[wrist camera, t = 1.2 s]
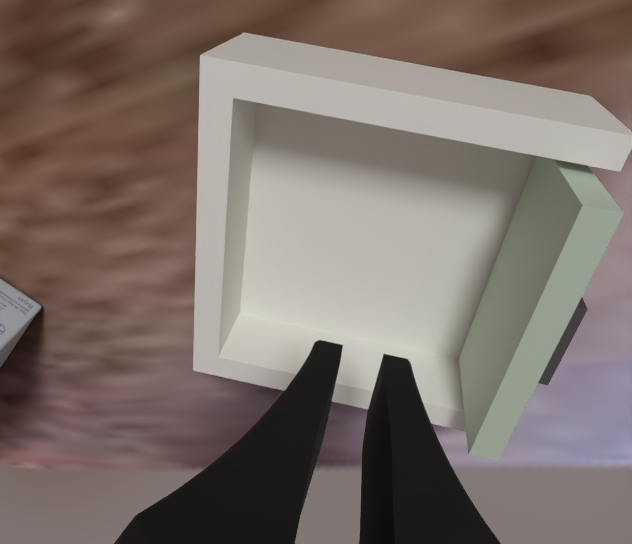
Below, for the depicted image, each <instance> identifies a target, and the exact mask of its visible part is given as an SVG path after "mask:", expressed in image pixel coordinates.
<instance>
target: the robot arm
mask: <svg viewBox="0 0 632 544" xmlns="http://www.w3.org/2000/svg"><path fill="white" fill-rule="evenodd" d="M342 348H343V345H341V344H336V343H332V342H327V341H323V340H318V341H316V342H314V345H313V347H312V350H311V352H310V354H309V356H308V357H307V359H306V361H305V362H304V364H303V366H302V367H301V369H300V370H299V372H298V373H297V375H296V376H295V377H294V379H293V380H292V381H291V383H290V384H289V385H288V387H287V388H286V390H285V391H284V392H283V393H282V395H281V396H280V397H279V398H278V399H277V401H276V402H275V403H274V404H273V405H272V406H271V408H270V409H269V410H268V411H267V412H266V413H265V415H264V416H263V417H262V418H261V419H260V420H259V421H258V422H257V423H256V424H255V425H254V426H253V427H252V428H251V429H250V430H249V431H248V432H247V433H246V434H245V435H244V436H243V437H242V438H241V439H240V440H239V441H238V442H237V443H236V444H234V445H233V446H232V447H231V448H230V449H229V450H228V451H226V452H225V453H224V454H223V455H222V456H221V457H220V458H218V459H217V460H216V461H215V462H214V463H212V464H211V465H210V466H208V467H207V468H206V469H204V470H203V471H202V472H200V473H199V474H198V475H196V476H195V477H194V478H192V479H191V480H190V481H188V482H187V483H185V484H184V485H183V486H182V487H180V488H179V489H177V490H176V491H174V492H173V493H171V494H169V495H168V496H166V497H165V498H163V499H161V500H160V501H158V502H157V503H155V504H154V505H152V506H150V507H149V508H147V509H145V510H144V511H142V512H141V513H139V514H137V515H136V516H135V517H134V518H133V520H132V521H131V522H130V523H129V525H128V526H127V527H126V529H125V530H124V531H123V532H122V534H121V535H120V536H119V538H118V539H117V541H116V542H115V543H114V544H295V538H296V533H297V528H298V523H299V519H300V515H301V511H302V508H303V505H304V501H305V498H306V495H307V491H308V488H309V484H310V481H311V478H312V475H313V471H314V468H315V465H316V461H317V458H318V455H319V451H320V448H321V444H322V441H323V437H324V433H325V429H326V424H327V420H328V415H329V411H330V406H331V402H332V397H333V393H334V388H335V384H336V379H337V375H338V370H339V366H340V361H341V355H342ZM359 544H500V542H499V541H498V539H497V538H496V537H495V535H494V534H493V532H492V531H491V530H490V528H489V527H488V525H487V524H486V523H485V521H484V520H483V518H482V517H481V515H480V514H479V512H478V511H477V509H476V508H475V506H474V504H473V503H472V501H471V500H470V498H469V496H468V495H467V493H466V491H465V490H464V488H463V486H462V485H461V483H460V481H459V480H458V478H457V476H456V474H455V472H454V470H453V469H452V467H451V465H450V463H449V461H448V459H447V457H446V455H445V453H444V451H443V449H442V447H441V445H440V442H439V440H438V438H437V436H436V434H435V431H434V429H433V427H432V424H431V422H430V419H429V417H428V414H427V412H426V410H425V407H424V404H423V402H422V399H421V396H420V393H419V390H418V387H417V384H416V381H415V377H414V374H413V370H412V366H411V363H410V361H409V360H408V359H406V358H401V357H396V356H392V355H387V354H383V358H382V361H381V365H380V369H379V372H378V376H377V379H376V383H375V387H374V390H373V394H372V397H371V401H370V404H369V408H368V413H367V420H366V427H365V434H364V441H363V451H362V485H361V519H360V541H359Z"/></svg>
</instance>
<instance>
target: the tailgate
mask: <svg viewBox="0 0 632 544" xmlns="http://www.w3.org/2000/svg"><path fill="white" fill-rule="evenodd" d="M623 215H624V213H623V211H622V210H621V209H620V207H619V206H618V205H617V203H616V202H615V201H614V200H613V198H612V197H611V196H610V194H609V193H608V192H607V191H606V189H605V188H604V187H603V185H602V184H601V183H600V181H599V180H598V179H597V178H596V176H595V175H594V174H593V172H592V171H591V170H590V169H589V167H588V166H587V165H582V164H577V163H572V162H567V161H561V160H556V159H551V158H546V157H540V156H536V158H535V161H534V163H533V166H532V168H531V171H530V174H529V176H528V179H527V182H526V184H525V187H524V189H523V192H522V195H521V197H520V200H519V202H518V205H517V208H516V210H515V213H514V215H513V218H512V221H511V223H510V226H509V228H508V231H507V234H506V236H505V239H504V241H503V244H502V247H501V249H500V252H499V255H498V257H497V260H496V262H495V265H494V268H493V270H492V273H491V275H490V278H489V281H488V283H487V286H486V288H485V291H484V294H483V296H482V299H481V301H480V304H479V307H478V309H477V312H476V314H475V317H474V320H473V322H472V325H471V327H470V330H469V333H468V335H467V338H466V341H465V343H464V346H463V348H462V351H461V354H460V356H459V366H460V376H461V386H462V396H463V406H464V415H465V425H466V435H467V445H468V455H471V456H476V457H480V458H484V459H489V460H493V461H499V459H500V457H501V455H502V453H503V451H504V449H505V447H506V445H507V443H508V441H509V439H510V437H511V435H512V433H513V431H514V429H515V427H516V425H517V423H518V421H519V419H520V417H521V415H522V413H523V411H524V409H525V408H526V406H527V404H528V402H529V400H530V398H531V396H532V394H533V392H534V390H535V388H536V386H537V384H538V383H540V384H545V385H548V384H549V382H550V380H551V378H552V376H553V374H554V372H555V370H556V368H557V367H558V365H559V363H560V361H561V359H562V357H563V355H564V353H565V351H566V349H567V347H568V346H569V344H570V342H571V340H572V338H573V336H574V334H575V332H576V330H577V328H578V326H579V325H580V323H581V321H582V319H583V317H584V315H585V313H586V311H587V307H586V305H585V303H584V301H583V298H582V295H583V294H584V292H585V290H586V288H587V286H588V284H589V282H590V280H591V278H592V276H593V274H594V272H595V270H596V268H597V266H598V264H599V262H600V260H601V258H602V256H603V254H604V252H605V250H606V248H607V246H608V244H609V242H610V240H611V239H612V237H613V235H614V233H615V231H616V229H617V227H618V225H619V223H620V221H621V219H622V217H623Z"/></svg>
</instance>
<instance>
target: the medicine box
mask: <svg viewBox="0 0 632 544" xmlns="http://www.w3.org/2000/svg"><path fill="white" fill-rule="evenodd" d="M40 310H41V305H40V304H38V303H37V302H35V301H34V300H32V299H31V298H29V297H28V296H27V295H25V294H24V293H22V292H21V291H19V290H18V289H16V288H15V287H13V286H12V285H10V284H9V283H7V282H6V281H4V280H3V279H1V278H0V368H1V366H2V365H3V363H4V362H5V360H6V359H7V357H8V356H9V354H10V353H11V351H12V350H13V348H14V347H15V345H16V344H17V342H18V341H19V339H20V338H21V336H22V335H23V333H24V332H25V330H26V329H27V327H28V326H29V324H30V323H31V321H32V320H33V318H34V317H35V316H36V314H37V313H38V312H39V311H40Z"/></svg>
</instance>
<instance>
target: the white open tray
mask: <svg viewBox="0 0 632 544" xmlns="http://www.w3.org/2000/svg"><path fill="white" fill-rule="evenodd" d="M631 149H632V131H630V130H629V129H628V128H627V127H626V126H625V125H623V124H622V123H621V122H620V121H619V120H618V119H617V118H615V117H614V116H613V115H612V114H611V113H610V112H609V111H607V110H606V109H605V108H604V107H603V106H602V105H600V104H599V103H598V102H597V101H596V100H595V99H594V98H592V97H591V96H588V95H583V94H578V93H572V92H567V91H561V90H556V89H550V88H545V87H539V86H534V85H528V84H523V83H517V82H512V81H506V80H501V79H495V78H490V77H485V76H479V75H474V74H468V73H463V72H457V71H452V70H446V69H441V68H435V67H430V66H424V65H419V64H413V63H408V62H402V61H397V60H391V59H386V58H381V57H375V56H370V55H364V54H359V53H353V52H348V51H342V50H337V49H331V48H326V47H320V46H315V45H309V44H304V43H298V42H293V41H288V40H282V39H277V38H271V37H266V36H260V35H255V34H249V33H243V34H241V35H239V36H237V37H235V38H233V39H231V40H229V41H227V42H225V43H223V44H221V45H219V46H217V47H215V48H213V49H211V50H209V51H207V52H205V53H203V54H201V55H200V85H199V130H198V176H197V221H196V266H195V312H194V357H193V371H198V372H202V373H207V374H211V375H216V376H220V377H225V378H229V379H234V380H238V381H242V382H247V383H251V384H256V385H260V386H265V387H269V388H274V389H278V390H283V391H285V390H286V388H287V387H288V385H289V384H290V383H291V381H292V380H293V379H294V377H295V376H296V375H297V373H298V372H299V370H300V369H301V367H302V366H303V364H304V362H305V361H306V359H307V357H308V356H309V354H310V352H311V350H312V347H313V345H314V342H316V341H318V340H323V341H327V342H332V343H336V344H341V345H343V348H342V355H341V361H340V366H339V370H338V375H337V379H336V384H335V388H334V393H333V397H332V402H337V403H341V404H346V405H350V406H355V407H359V408H363V409H368V408H369V404H370V401H371V397H372V394H373V390H374V387H375V383H376V379H377V376H378V372H379V369H380V365H381V361H382V358H383V354H387V355H392V356H396V357H401V358H406V359H408V360H409V361H410V363H411V366H412V370H413V374H414V377H415V381H416V384H417V387H418V390H419V393H420V396H421V399H422V402H423V404H424V407H425V410H426V412H427V414H428V417H429V419H430V422H431V424H435V425H440V426H444V427H449V428H453V429H458V430H462V431H466V425H465V415H464V406H463V396H462V386H461V376H460V366H459V356H460V354H461V351H462V348H463V346H464V343H465V341H466V338H467V335H468V333H469V330H470V327H471V325H472V322H473V320H474V317H475V314H476V312H477V309H478V307H479V304H480V301H481V299H482V296H483V294H484V291H485V288H486V286H487V283H488V281H489V278H490V275H491V273H492V270H493V268H494V265H495V262H496V260H497V257H498V255H499V252H500V249H501V247H502V244H503V241H504V239H505V236H506V234H507V231H508V228H509V226H510V223H511V221H512V218H513V215H514V213H515V210H516V208H517V205H518V202H519V200H520V197H521V195H522V192H523V189H524V187H525V184H526V182H527V179H528V176H529V174H530V171H531V168H532V166H533V163H534V161H535V158H536V156H540V157H546V158H551V159H556V160H561V161H567V162H572V163H577V164H582V165H587V166H593V167H598V168H603V169H608V170H614V171H619V172H620V171H621V169H622V167H623V165H624V163H625V161H626V159H627V157H628V155H629V153H630V151H631Z"/></svg>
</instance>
